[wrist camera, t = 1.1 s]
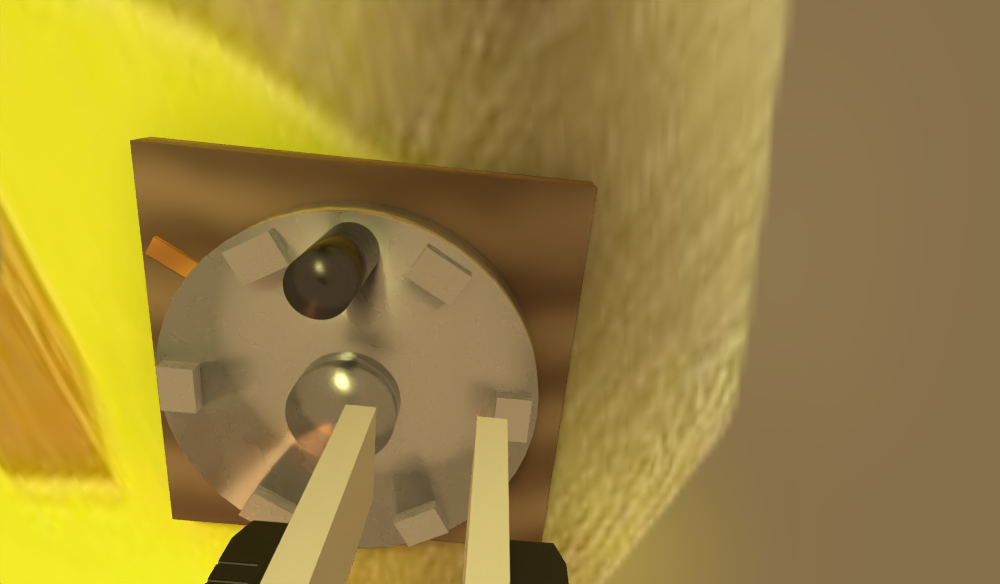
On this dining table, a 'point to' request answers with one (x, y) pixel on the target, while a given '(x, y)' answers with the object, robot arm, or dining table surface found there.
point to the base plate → (417, 188)
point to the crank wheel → (346, 362)
